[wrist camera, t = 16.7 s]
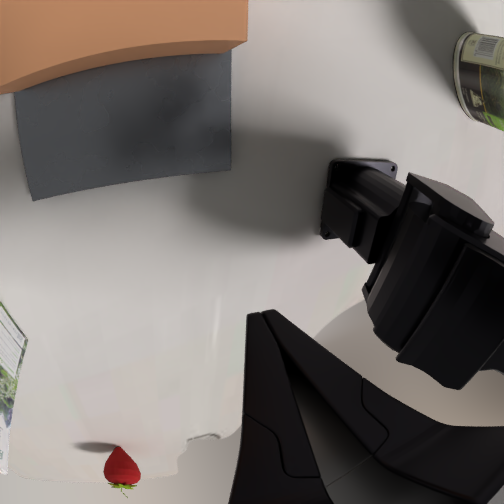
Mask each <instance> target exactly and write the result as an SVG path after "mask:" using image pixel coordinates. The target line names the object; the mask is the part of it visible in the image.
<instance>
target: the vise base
mask: <svg viewBox="0 0 504 504" xmlns="http://www.w3.org/2000/svg"><path fill="white" fill-rule="evenodd" d="M15 104H16V115H17V124H18V131H19V138H20V145H21V151H22V156H23V161H24V166H25V171H26V176H27V180H28V184H29V189H30V193H31V196H32V200H33V201H36V200H40V199H44V198H49V197H53V196H58V195H62V194H67V193H72V192H76V191H81V190H86V189H92V188H97V187H103V186H108V185H114V184H120V183H126V182H133V181H139V180H146V179H153V178H161V177H169V176H177V175H185V174H195V173H205V172H215V171H227V170H231V50H229V51H227V52H225V53H217V54H189V55H175V56H164V57H155V58H147V59H140V60H133V61H127V62H121V63H115V64H110V65H105V66H101V67H96V68H92V69H88V70H83V71H80V72H76V73H72V74H68V75H65V76H61V77H58V78H55V79H52V80H49V81H46V82H43V83H40V84H37V85H34V86H31V87H29V88H26V89H23V90H21V91H17V92H15Z"/></svg>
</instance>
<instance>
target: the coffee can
mask: <svg viewBox="0 0 504 504" xmlns="http://www.w3.org/2000/svg"><path fill="white" fill-rule="evenodd" d="M453 60H454V65H453V70H454V81H455V87H456V91H457V95H458V99H459V101H460V104H461V106H462V108H463V109H464V111H465V113H466V114H467V115H468V116H469V117H470V118H471V119H472V120H475V121H479V122H482V123H485V124H487V125H490V126H492V127H495V128H497V129H500V130H502V131H504V38H503V37H498V36H491V35H484V34H477V33H473V32H467V33H465V34H463V35H462V36H461V37H460V38H459V40H458V42H457V44H456V48H455V53H454V59H453Z"/></svg>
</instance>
